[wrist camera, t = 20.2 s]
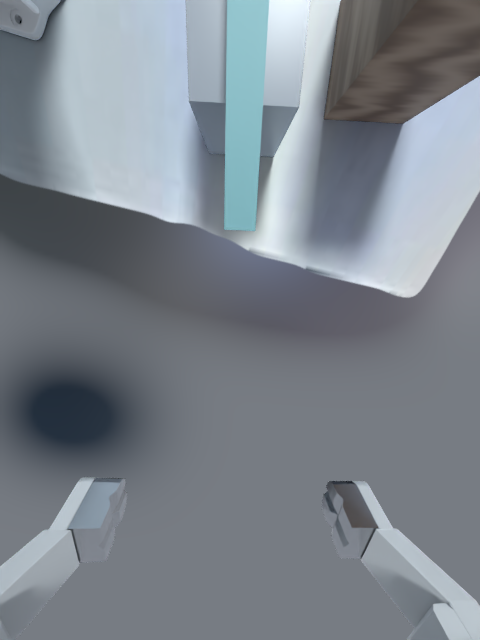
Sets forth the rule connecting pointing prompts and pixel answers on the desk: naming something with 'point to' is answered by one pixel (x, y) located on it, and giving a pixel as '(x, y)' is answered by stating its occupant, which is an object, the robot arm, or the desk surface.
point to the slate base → (280, 69)
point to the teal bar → (244, 109)
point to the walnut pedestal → (400, 57)
